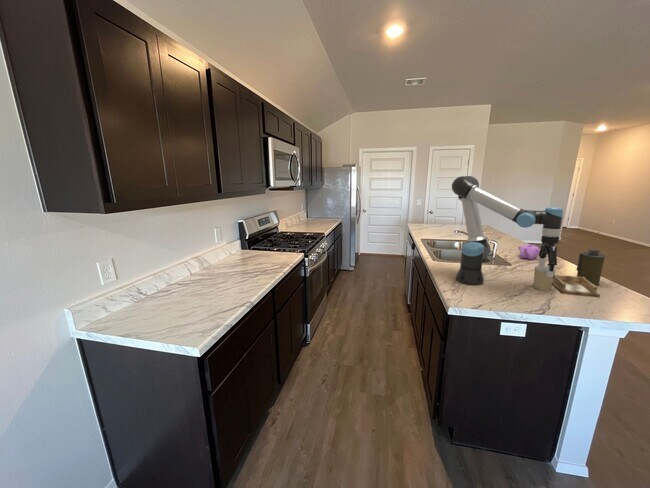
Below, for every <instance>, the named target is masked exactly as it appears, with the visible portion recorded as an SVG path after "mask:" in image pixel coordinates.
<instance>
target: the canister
mask: <svg viewBox="0 0 650 488" xmlns="http://www.w3.org/2000/svg"><path fill="white" fill-rule="evenodd" d="M600 252H601V251H600V250H599V249H593V248H591V249H589V250H588V251H587V252H586V251H583V252H579V256H578V261H577V264H576V265H577V266H576V271H577V274H576V276H577V277H585V278H586V279H587V280H588V281H589V282H591V283H592V284H594V285H595V286H597V285H598V286H600V281H601V276H602V271H603V267H604V263H605V262H604V261H605V258H606V255H605V254H602V253H600ZM598 286H597V287H598Z"/></svg>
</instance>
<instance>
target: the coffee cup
mask: <svg viewBox="0 0 650 488" xmlns="http://www.w3.org/2000/svg"><path fill="white" fill-rule="evenodd" d="M547 269H548V265H545V266H539V265H535V267H534V274H533V288H534V289H536V290H540V291H544V292H545V291H547V292H549V291H551V289H552V286H553V285H552V282H553V279H554V275H556V271H557V270H556V269H555V268H554V274H553V277H547V276H546V275H547Z"/></svg>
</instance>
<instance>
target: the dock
mask: <svg viewBox="0 0 650 488" xmlns="http://www.w3.org/2000/svg"><path fill="white" fill-rule="evenodd" d="M552 286H553V287H554V288H555V289H556V290H557V291H558V292H559V293H560V294H562V295H573V296H579V297H581V296H583V297H591V298H600V297H601V295H600V293H599V292H597V291H598V286H595V285H594V284H592V283H591V282H589V281H588V280H587V279H586V278H585V277H577V275H576V276H575V275H574V276H573V275H564V274H563V275H562V274H555V275H554V279H553V282H552Z"/></svg>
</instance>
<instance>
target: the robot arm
mask: <svg viewBox="0 0 650 488" xmlns="http://www.w3.org/2000/svg"><path fill="white" fill-rule="evenodd" d="M451 190H452V191H453V194H455V195H457V197H458V200H459V201H460V202H461V204H462V209H463V217H464V220H465V227H466V232H467V237H468V238H467V239H466V242H465V243H463V244H462V246H461V255H460V256H461V257H460V268H459V269H458V272H457V273H456V277H455V280H456V282H458V283H461V284H464V285H468V286H469V285H470V286H481V285H483V284H484V280H485V277H484V276H483V271H482V267H483V260H485V259H487V258H488V256H489V255H490V253H491V249H492V248H491V245H490V244H489V242H488V238H487V237H486V236H485V235H484V231H483V225H482V221H481V220H482V219H481V215H480V214H481V213H480V210H479V208H480V207H479V205H481V206H483V207H485V208H487V209H488V210H490V211H492V212H494V213H496V214H498V215H500V216H503V217H504V218H507V219H508V220H510V221H512V222H514V223H516V224H517V226H519V227H520V228H524V229H527V228H530V227H532V226H533V225H542V230H541V239H540V242H541V245H540V248H539V249H540V252H539V253H538V257H539V260H538V266H548V269H547V275H546V276H547V277H553V274H554V269H555V267H556V266H557V265H558V258H557V257H558V256H557V255H558V254H557V248H558V247H557V246H555V245H556V244H559V242H560V237H559V236H560V234H561V232H562V230H561V227H562V222H563V216H564V209H563V208H562V207H558V206H547V207H545V210H531V209H530V210H529V209H523V208H521V207H519V206H517V205H515V204H513V203H510V202H509V201H507V200H504V199H503V198H501V197H498V196H496V195H494V194H492V193H490V192H488V191H486V190H484V189H482V188H480V183H479V180H478V179H477V178H476V177H475V176H472V175H465V176H464V175H463V176H458V177H457V178H456V179H454V180H453V181H452V183H451ZM546 259H548V263H547V265H546Z"/></svg>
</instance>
